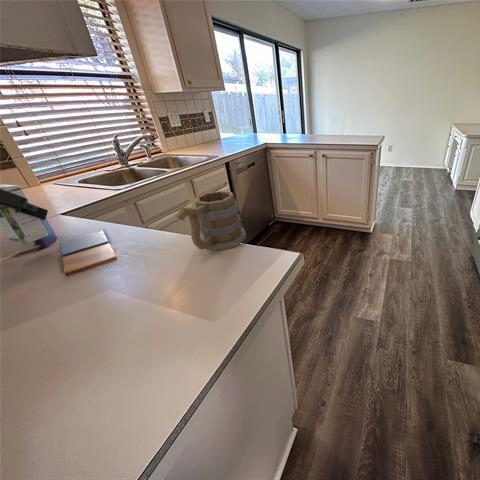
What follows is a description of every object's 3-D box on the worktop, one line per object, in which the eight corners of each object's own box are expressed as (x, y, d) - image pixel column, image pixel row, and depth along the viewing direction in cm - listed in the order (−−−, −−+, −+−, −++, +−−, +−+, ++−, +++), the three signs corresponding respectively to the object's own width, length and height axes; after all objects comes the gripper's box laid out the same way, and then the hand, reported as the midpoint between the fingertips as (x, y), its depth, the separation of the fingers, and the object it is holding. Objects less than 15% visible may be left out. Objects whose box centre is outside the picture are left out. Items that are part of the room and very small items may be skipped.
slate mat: (61, 245, 82) (60, 242, 82) (104, 233, 89) (102, 230, 89) (63, 257, 75) (61, 254, 75) (109, 243, 82) (108, 241, 81)
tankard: (222, 228, 88) (211, 185, 81) (253, 233, 84) (245, 188, 77) (173, 259, 72) (155, 208, 65) (209, 267, 68) (194, 213, 61)
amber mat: (63, 260, 74) (62, 257, 74) (110, 246, 81) (109, 243, 80) (66, 276, 67) (64, 273, 66) (117, 259, 73) (115, 256, 73)
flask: (49, 237, 88) (31, 207, 82) (60, 235, 89) (43, 205, 83) (36, 250, 80) (15, 218, 75) (48, 248, 81) (28, 216, 76)
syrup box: (9, 243, 70) (-27, 190, 63) (35, 233, 75) (4, 183, 68) (25, 245, 68) (-10, 191, 61) (50, 234, 73) (20, 183, 66)
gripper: (-44, 151, 51) (70, 201, 73) (-138, 154, 51) (3, 203, 73) (-59, 187, 48) (63, 227, 71) (-158, 189, 49) (-6, 228, 71)
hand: (32, 215), depth 72 cm, fingers closed on syrup box, 6 cm apart
